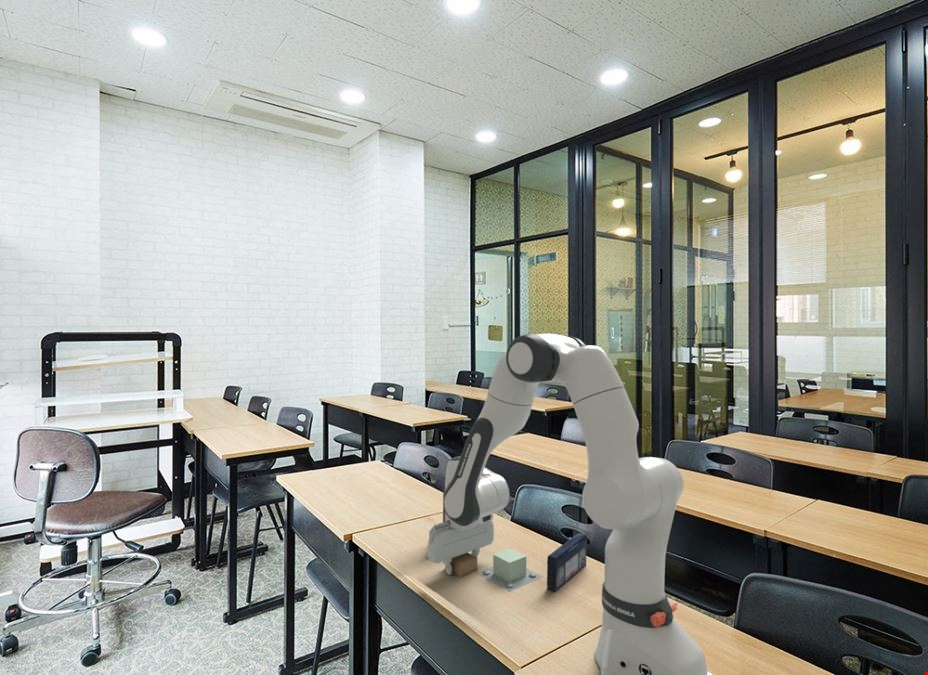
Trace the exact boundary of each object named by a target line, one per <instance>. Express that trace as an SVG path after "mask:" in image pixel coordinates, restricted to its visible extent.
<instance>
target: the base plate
mask: <svg viewBox="0 0 928 675" xmlns="http://www.w3.org/2000/svg"><path fill="white" fill-rule="evenodd" d="M477 575H480V576H481V577H483V578H485V579H486V580H488V581H489V582H492V583H493V584H494V585H497V586H498V587H500V588H503V589H504V590H506V591H507V592H513V590H516V589H517V590H518V588H521V587H523V586H526V585H528V584H529V583H532V582H534V581H537V580H539V579H541V578H543V577H544V576H543V575H541V574H540V573H536V572H534V571H533V570H531V569H528V568H527V567H526V576H524V577H522V578H519V579H517V580H515V581H513V582H510V583H509V582H507V581H505V580H504V579H502V578H500V577H498V576H496V575H495V574H493V566H491V567H488V568H486V569H483V570H481V571H478V572H477Z"/></svg>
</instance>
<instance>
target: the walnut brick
mask: <svg viewBox="0 0 928 675" xmlns="http://www.w3.org/2000/svg"><path fill="white" fill-rule="evenodd" d="M450 564H451V565H452V566H454V573H453V574H452V575H455V576H456V577H458V578H461V577H464V576H467V575H469V574H473V573H475V572H477V571H478V557H475V556H473V555H471V553H470V552H467V553H465V554H462V555H459V556H456V557H453V558H452V559H451V562H450ZM444 566H445V565H444ZM444 569H445V570H446V566H445V567H444Z"/></svg>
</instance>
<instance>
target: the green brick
mask: <svg viewBox="0 0 928 675" xmlns="http://www.w3.org/2000/svg"><path fill="white" fill-rule="evenodd" d="M492 559H493V560H492V561H493V564H492V565H493V566H492V567H493V574H495V575H496V576H498V577H500V578H502V579H504V580H505V581H507V582H509V583H510V582H513V581H515V580H517V579H519V578H522V577H524V576H526V568H527V555H525V554H522V553H520V552H518V551H517V550H514V549H511V548H507V549H505V550H502V551H499V552H496V553H494V554H493V557H492Z"/></svg>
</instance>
